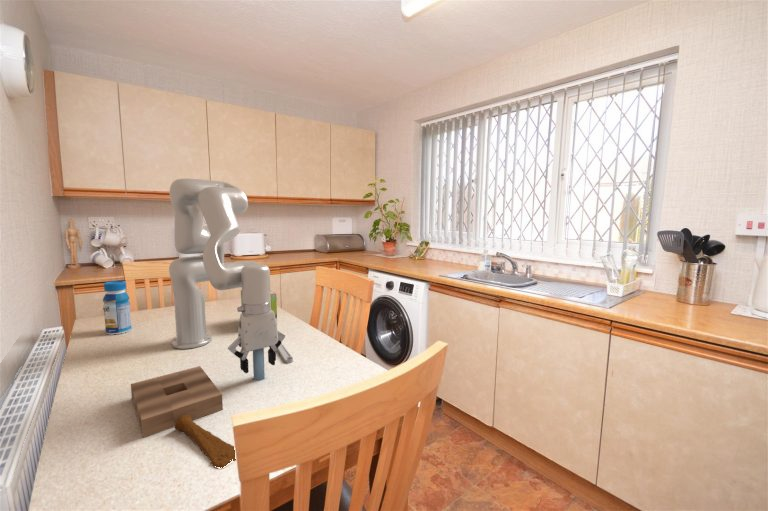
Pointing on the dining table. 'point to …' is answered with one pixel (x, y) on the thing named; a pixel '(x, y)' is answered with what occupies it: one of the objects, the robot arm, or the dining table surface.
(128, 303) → the blue-capped supplement jar
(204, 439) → the primitive tool
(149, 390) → the hole block
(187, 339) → the robot arm
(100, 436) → the dining table surface
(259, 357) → the peg
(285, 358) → the adjustable wrench
